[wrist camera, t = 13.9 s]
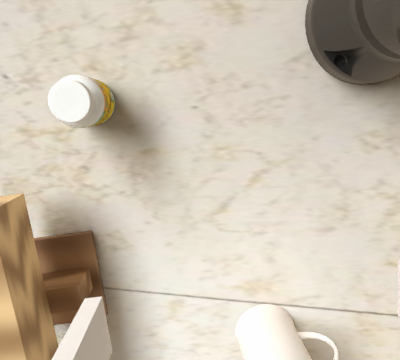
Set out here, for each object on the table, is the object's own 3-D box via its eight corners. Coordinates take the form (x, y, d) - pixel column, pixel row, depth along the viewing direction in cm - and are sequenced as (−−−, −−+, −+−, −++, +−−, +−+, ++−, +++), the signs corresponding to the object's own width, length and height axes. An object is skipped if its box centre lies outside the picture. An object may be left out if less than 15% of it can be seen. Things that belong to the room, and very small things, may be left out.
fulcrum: (-18, 244, 45) (-47, 265, 39) (92, 230, 45) (79, 248, 39) (4, 327, 47) (-21, 358, 41) (107, 313, 48) (97, 341, 42)
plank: (-19, 198, 38) (-63, 218, 31) (23, 193, 38) (-11, 212, 31) (32, 401, 43) (5, 456, 36) (69, 396, 43) (49, 450, 36)
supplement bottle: (79, 72, 41) (50, 61, 32) (122, 90, 42) (106, 85, 33) (64, 114, 42) (32, 116, 33) (106, 132, 43) (86, 138, 34)
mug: (311, 292, 49) (353, 350, 37) (319, 344, 51) (362, 415, 39) (229, 310, 49) (246, 374, 37) (240, 362, 51) (259, 438, 39)
